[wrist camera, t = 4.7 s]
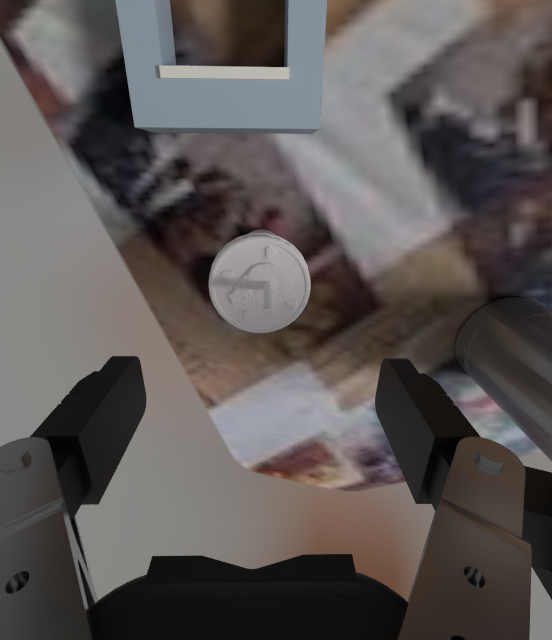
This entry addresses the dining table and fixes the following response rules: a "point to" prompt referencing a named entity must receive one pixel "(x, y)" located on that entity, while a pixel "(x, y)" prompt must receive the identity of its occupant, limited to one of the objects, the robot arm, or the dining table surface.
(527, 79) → the dining table surface
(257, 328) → the smoothie
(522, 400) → the robot arm
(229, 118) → the socket block
